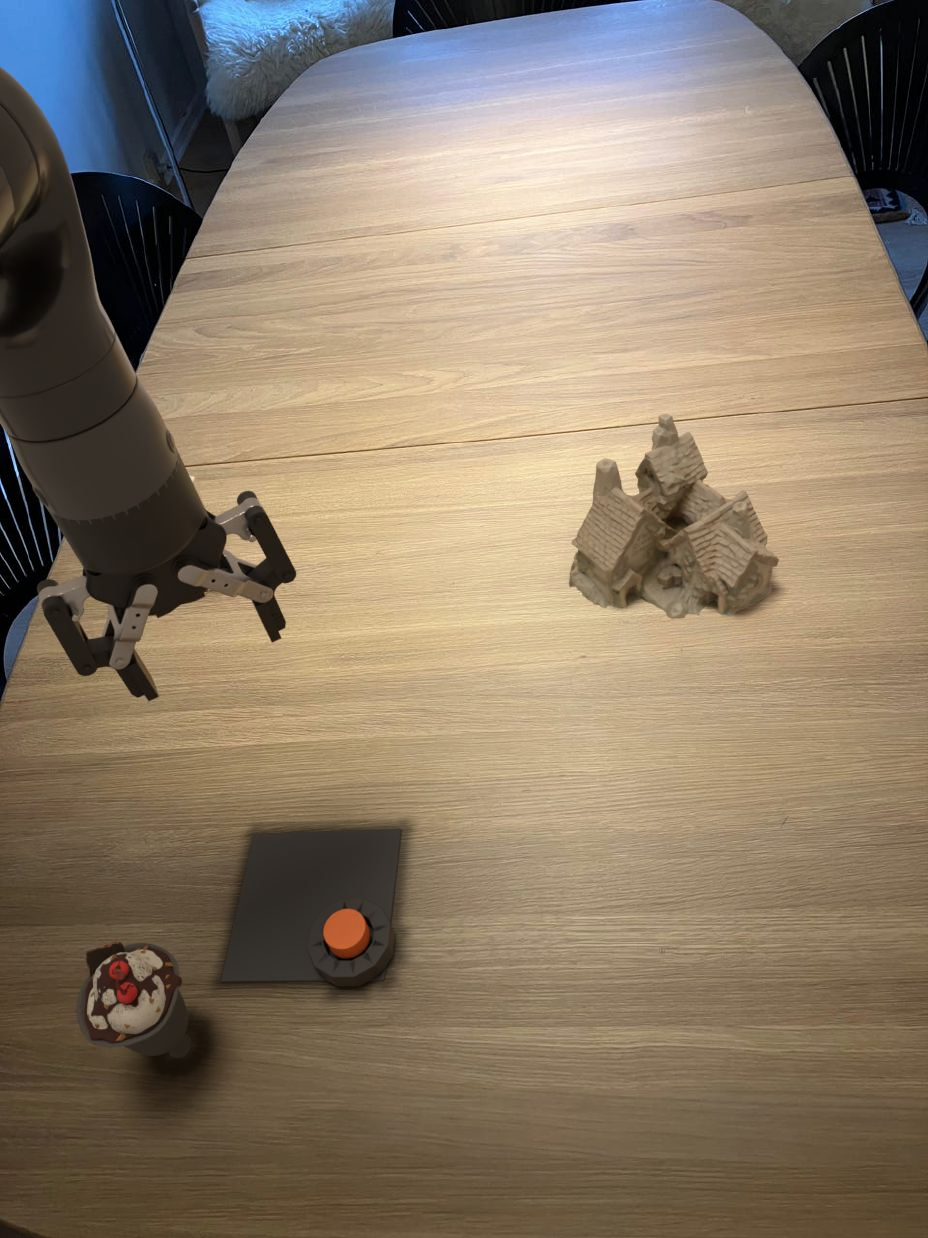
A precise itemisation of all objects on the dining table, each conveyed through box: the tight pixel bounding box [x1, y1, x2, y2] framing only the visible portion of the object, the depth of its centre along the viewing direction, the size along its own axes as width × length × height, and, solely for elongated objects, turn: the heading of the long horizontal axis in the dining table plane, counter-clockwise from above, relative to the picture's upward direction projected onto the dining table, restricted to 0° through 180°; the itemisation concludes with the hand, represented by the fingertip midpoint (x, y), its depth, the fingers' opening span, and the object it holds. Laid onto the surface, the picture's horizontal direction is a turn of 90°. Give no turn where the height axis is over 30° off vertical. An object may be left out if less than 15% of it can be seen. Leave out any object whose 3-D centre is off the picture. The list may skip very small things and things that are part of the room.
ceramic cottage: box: [568, 413, 780, 620], centre depth 89 cm, size 16×16×15 cm
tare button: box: [323, 909, 370, 959], centre depth 72 cm, size 3×3×2 cm
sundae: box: [75, 940, 192, 1059], centre depth 66 cm, size 7×7×15 cm
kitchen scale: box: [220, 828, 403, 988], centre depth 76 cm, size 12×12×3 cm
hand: (212, 661), depth 67 cm, fingers open, 8 cm apart
